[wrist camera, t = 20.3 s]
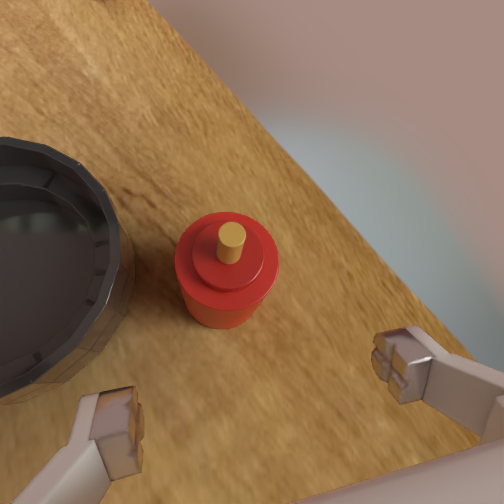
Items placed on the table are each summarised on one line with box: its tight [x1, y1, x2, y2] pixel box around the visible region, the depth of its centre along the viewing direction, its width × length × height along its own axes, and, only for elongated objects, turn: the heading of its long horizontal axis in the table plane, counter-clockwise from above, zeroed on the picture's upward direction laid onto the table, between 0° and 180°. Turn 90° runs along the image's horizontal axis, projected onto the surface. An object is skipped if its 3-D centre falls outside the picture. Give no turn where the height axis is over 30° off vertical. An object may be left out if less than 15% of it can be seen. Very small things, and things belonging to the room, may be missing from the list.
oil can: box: [174, 212, 279, 329], centre depth 19 cm, size 5×5×10 cm
